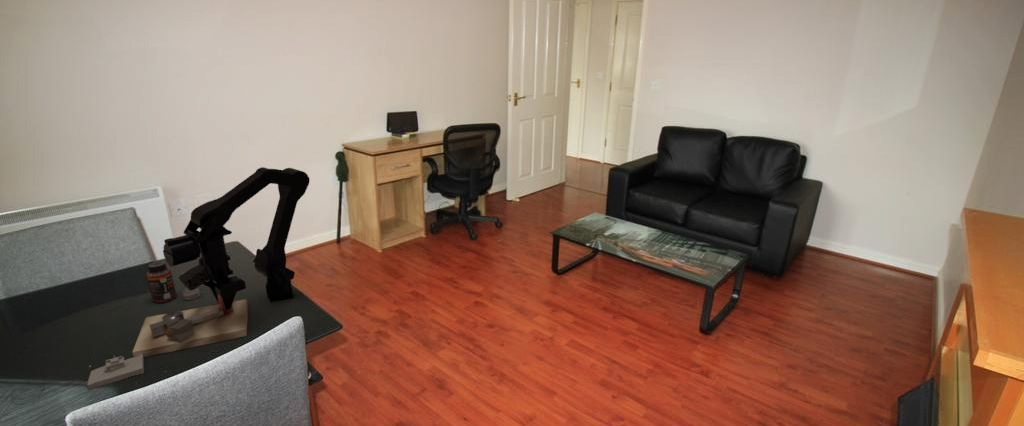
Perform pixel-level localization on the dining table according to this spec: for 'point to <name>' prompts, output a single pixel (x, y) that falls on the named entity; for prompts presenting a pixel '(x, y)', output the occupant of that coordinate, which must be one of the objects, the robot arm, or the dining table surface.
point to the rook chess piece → (190, 293)
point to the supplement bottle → (160, 282)
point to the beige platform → (116, 371)
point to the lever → (177, 316)
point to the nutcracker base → (200, 330)
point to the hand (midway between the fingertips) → (224, 306)
